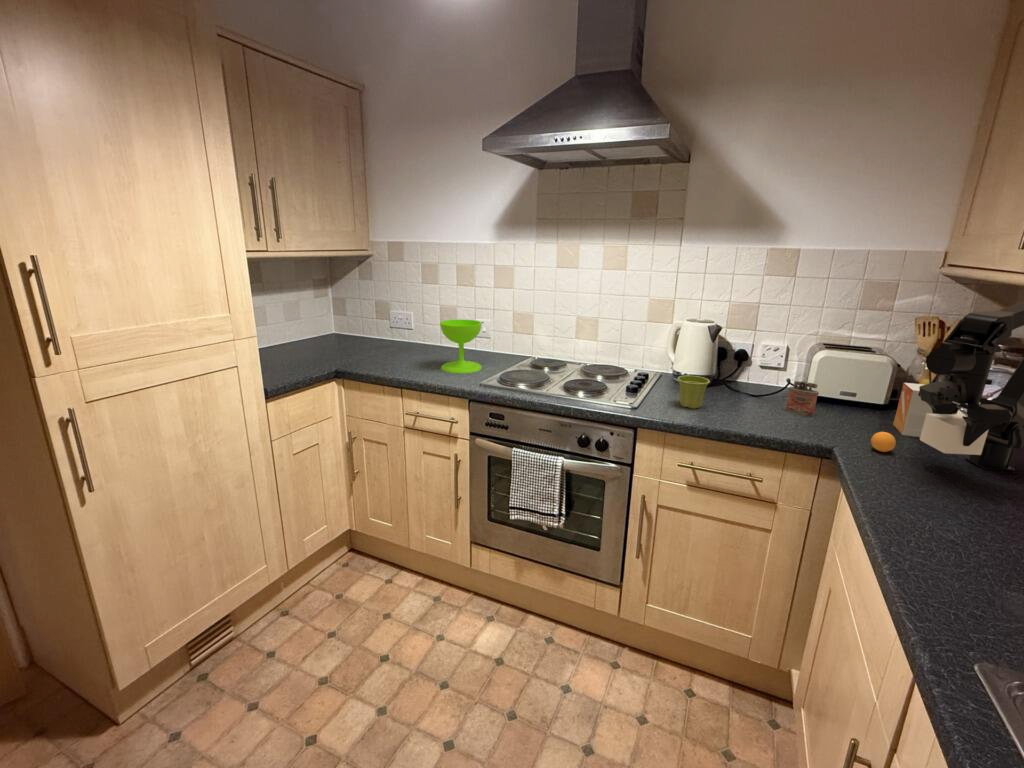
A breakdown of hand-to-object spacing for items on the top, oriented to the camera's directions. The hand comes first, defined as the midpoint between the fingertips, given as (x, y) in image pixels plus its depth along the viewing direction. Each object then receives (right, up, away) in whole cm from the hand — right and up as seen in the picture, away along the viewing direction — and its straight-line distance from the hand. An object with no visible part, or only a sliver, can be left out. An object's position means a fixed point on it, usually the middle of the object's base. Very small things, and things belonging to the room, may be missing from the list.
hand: (951, 438), depth 114 cm
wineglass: (-119, +19, +85) cm, 148 cm away
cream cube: (0, -2, +1) cm, 2 cm away
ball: (-6, -2, +13) cm, 14 cm away
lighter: (-11, +3, +41) cm, 42 cm away
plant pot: (-43, +5, +45) cm, 63 cm away
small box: (+12, -1, +27) cm, 29 cm away
